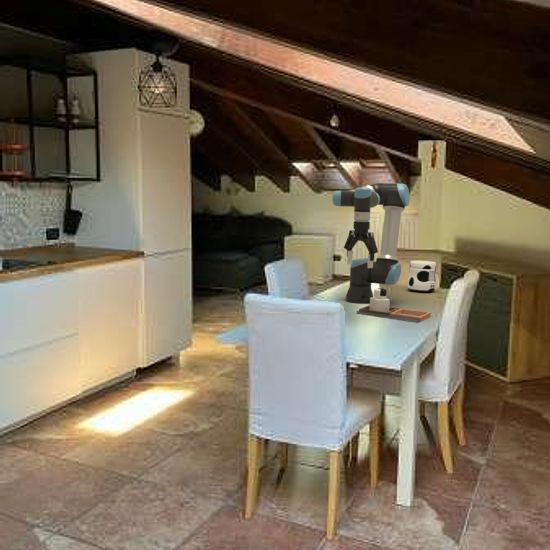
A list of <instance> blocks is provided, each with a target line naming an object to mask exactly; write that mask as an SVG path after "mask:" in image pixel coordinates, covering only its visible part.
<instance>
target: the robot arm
mask: <svg viewBox="0 0 550 550" xmlns="http://www.w3.org/2000/svg"><path fill="white" fill-rule="evenodd" d="M332 203H333V206H335V207H339V208H340V207H351V208H353V207H354V209H353V229H352V230H349V231H348V236H347V239H346V241H345V243H344V245H343V249H344V250H346V257H347V258H346V259H347V260H346V261H347V263H346V265H350V267H349V271H350V272H349V287H348V290H347V292H346V294H345V301H347V302H350V303H355V304H370V298H371V297H374V292H373V289H372V284H377V285H379V284H380V285H386V286H388V285H389V286H394V285H396V284H397V282H399V279H400V277H401V274H402V264H400V263H399V259H398V257H397V251H398V242H399V234H400V228H401V227H400V226H401V218H402V213H403V211H405V209H406V207H408V206H409V204H410V190H409V187H408V186H407V184H405V183H398V182H397V183H394V182H393V183H387V182H386V183H385V182H384V183H383V182H380V183H379V182H378V183H371V184H367V185H364V186H362V187H356V188H355V189H348V190H335V191H334V192H333V193H332ZM378 205H379V206H382V209H383V210H384V216H383V224H382V225H383V226H382V234H381V241H380V242H381V243H380V250H378V246H377V243H376V240H375V236H374V235H375V234H374V232H369V230H370V228H371V222H370V220H371V209H372V208H375V207H377V206H378ZM358 241H360V242H362V243H364V245H365V247H366V249H367V251H368V254H367V258H357V259H356V258H355V259H353V258H354V256H353V255H354V250H353V249H354V247H355V245H356V244H357V243H358ZM377 253H379V255H378V256H377V257H376V259H375V254H377Z"/></svg>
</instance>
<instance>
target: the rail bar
mask: <svg viewBox="0 0 550 550" xmlns="http://www.w3.org/2000/svg"><path fill="white" fill-rule="evenodd" d="M356 314H357V315H363V316H371V317H377V318H385V319H389V320H390V319H391V320H398V321H405V322H409V323H410V322H412V323H421V322H420V319H413V318H407V317H400V316H393V315H386V314H379V313H372V312H365V311H359V310H357V311H356Z"/></svg>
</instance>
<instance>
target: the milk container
mask: <svg viewBox="0 0 550 550" xmlns="http://www.w3.org/2000/svg"><path fill="white" fill-rule="evenodd" d="M408 268H409V269H408V271H409V273H408V278H407V281H406V287H407V289H408V290H410V291H412V292H418V293H431V292H434V291H435V290H436V288H437V280H436V272H437V270H436V268H437V262H435V261H433V260H432V261H431V260H417V259H416V260H410V261H409V267H408Z"/></svg>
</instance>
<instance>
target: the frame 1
mask: <svg viewBox="0 0 550 550" xmlns="http://www.w3.org/2000/svg"><path fill="white" fill-rule="evenodd" d="M399 309H400V308H398V307H393V306H392V307H391V306H389V312H381V311H374V310H370V304H369V305H367V306H364V307H361V308H359V309H358V311H365V312H372V313H379V314H386V315H390V313H392V312H394V311H397V310H399Z"/></svg>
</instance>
